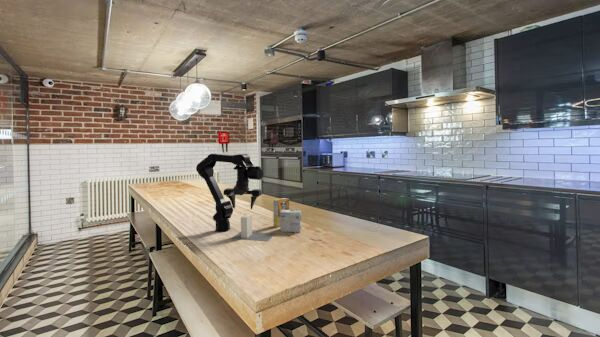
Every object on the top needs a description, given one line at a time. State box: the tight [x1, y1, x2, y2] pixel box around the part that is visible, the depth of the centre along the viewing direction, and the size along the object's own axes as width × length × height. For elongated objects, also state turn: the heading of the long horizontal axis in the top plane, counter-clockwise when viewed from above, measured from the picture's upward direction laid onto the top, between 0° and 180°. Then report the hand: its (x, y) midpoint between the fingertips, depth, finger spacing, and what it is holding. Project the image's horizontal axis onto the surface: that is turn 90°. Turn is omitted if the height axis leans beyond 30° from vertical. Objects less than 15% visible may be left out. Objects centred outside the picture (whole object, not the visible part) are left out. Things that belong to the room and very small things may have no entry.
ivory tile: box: [240, 214, 253, 238], centre depth 162 cm, size 3×7×10 cm, turn 168°
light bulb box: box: [279, 209, 302, 233], centre depth 173 cm, size 11×7×11 cm, turn 84°
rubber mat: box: [230, 231, 276, 242], centre depth 162 cm, size 19×14×1 cm
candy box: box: [272, 197, 290, 228], centre depth 183 cm, size 9×4×15 cm, turn 139°
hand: (242, 208), depth 168 cm, fingers open, 9 cm apart
